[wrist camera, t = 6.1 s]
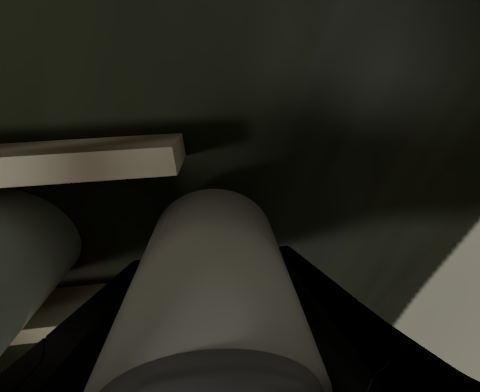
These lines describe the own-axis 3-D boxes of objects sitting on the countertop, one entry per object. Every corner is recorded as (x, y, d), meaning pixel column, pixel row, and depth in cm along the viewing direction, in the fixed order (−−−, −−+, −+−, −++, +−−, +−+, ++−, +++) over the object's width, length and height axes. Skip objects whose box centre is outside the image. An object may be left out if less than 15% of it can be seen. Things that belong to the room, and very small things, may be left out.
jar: (270, 277, 11) (328, 482, 6) (166, 288, 11) (109, 518, 5) (272, 184, 9) (376, 363, 3) (142, 193, 9) (-13, 416, 3)
